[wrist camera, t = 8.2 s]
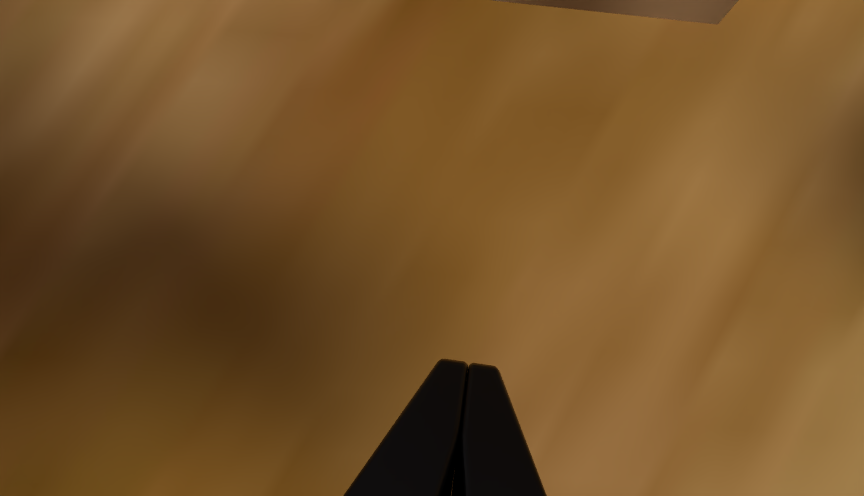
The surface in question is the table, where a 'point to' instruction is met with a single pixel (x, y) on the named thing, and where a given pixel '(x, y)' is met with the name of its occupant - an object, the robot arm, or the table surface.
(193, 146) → the table surface
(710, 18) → the slab
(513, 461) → the robot arm
